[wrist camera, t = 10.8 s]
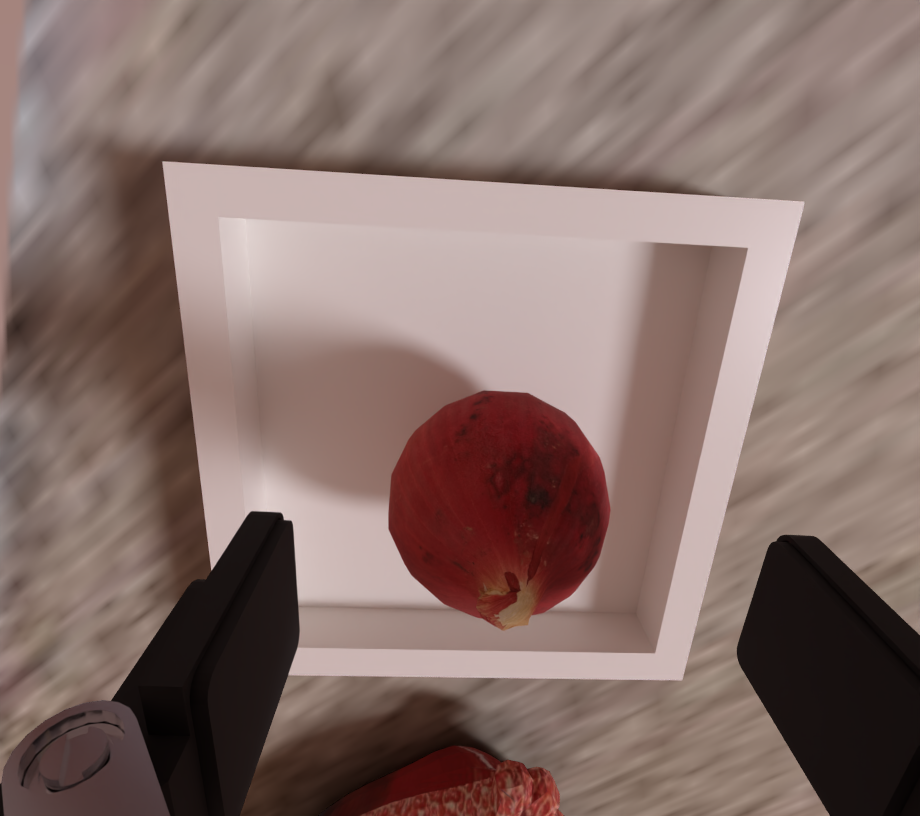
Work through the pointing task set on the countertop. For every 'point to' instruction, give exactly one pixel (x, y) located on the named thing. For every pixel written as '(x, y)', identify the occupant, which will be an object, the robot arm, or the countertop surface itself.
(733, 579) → the countertop surface
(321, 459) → the tray
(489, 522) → the onion
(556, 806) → the dish
